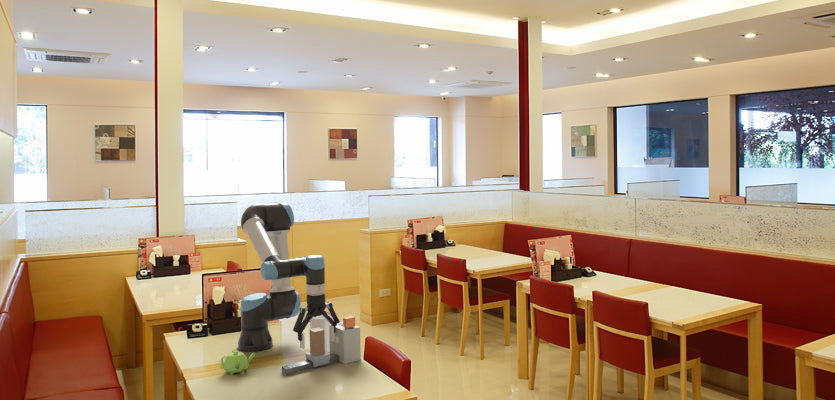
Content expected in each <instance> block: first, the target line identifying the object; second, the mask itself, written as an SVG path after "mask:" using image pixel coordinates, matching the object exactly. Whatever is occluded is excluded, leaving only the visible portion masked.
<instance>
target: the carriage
mask: <svg viewBox="0 0 835 400" xmlns="http://www.w3.org/2000/svg"><path fill="white" fill-rule="evenodd" d="M329 359H330V352H329V353H327V352H325V337H324V330H323V329H321V328H315V329H309V351H308V352H305V361H306V360H310V361H312V362H313V367H316V366H319V365H323V364H327V363H329Z"/></svg>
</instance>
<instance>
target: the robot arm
mask: <svg viewBox="0 0 835 400" xmlns="http://www.w3.org/2000/svg"><path fill="white" fill-rule="evenodd" d="M294 224H295V215H294V211H293V208H292V206H291V205H290V204H289V203H288V202H280V201H277V202H265V203H254V204H252V205H250V206H248V207H247V208H246V209H245V210H244V212H243V213H242V215H241V218H240V226H241V229H242V231H243V233H244V234H246V235H247V236H248V238H249V240H250V242H251V244H252V245H253V248H254V250H255V252H256V254H257V255H258V257H259V259H260V261H261V265H260V274H261V275H260V276H261V277H262V279H263V280H264V281H271V284H272V286H271V289H270V290H269V295H268V294H267V293H265V292H256V293H251V294H248V295H245V296H244V297H243V298H242V299H241V300H240V307H239V310H240V323H241V324H240V325H241V330H240V335H239V337H238V342H237V349H238V351H243V352H260V351H263V350H267V349H269V348H271V347H272V346H273V345H274V343H273V338H272V335H271V332H270V328H269V322H273V321H279V320H284V319H291V318H294V317H296V316H297V315H298V316H297V318H296V321H295V323H294V326H293V329H292V332H295V333H297V340H298V341H299V348H301V349H302V350H305V346H306V345H305V342H306V341H305V332H304V331H305V329H306V327H307V326H308V324H310V320H311V319H312V318H313V317H316V316H321V315H323V316H324V317H325V318H326V319H327V320H328V322H329V324H331V325H329V340H330V341H332V342H334V333H335V332H336V326H337V323H340V322H341V321H340V319H339V317H338V315H337V313H336V311H335V310H334V308H333V303H332V302H330V301H328V302H326V294H325V293H326V282H325V281H326V280H325V278H326V276H325V275H326V272H325V268H326V264H325V257H324V256H323V255H319V254H312V255H310V254H309V255H307V256H303V255H301V256H298V257H296V258H290V252H289V249H290V248H289V239H288V234H289V232H290V231H291V227H293V226H294ZM303 276H304V277H305V281H306V284H305V285H306V286H305V287H306V288H305V289H306V290H305V291H306V307H302V306H301V302H302V301H301V297H300V293H299V292H298V291H296V289H295V287H294V286H293V285H292V278H296V277H303ZM326 309H327V310H328V312H329V314H330V315H329V314H328V313H327V311H326ZM331 317H332V318H331Z"/></svg>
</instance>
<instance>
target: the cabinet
mask: <svg viewBox="0 0 835 400" xmlns="http://www.w3.org/2000/svg"><path fill="white" fill-rule="evenodd" d="M329 325H331V324H330V323H329ZM329 346H330V352H329V354H333V353H335V354H337V355H339V362H340V363H342V364H344V365H346V364H349V363H354V362H356V361H360V360H362V357H361V356H362V355H361V353H362V351H361V348H362V347H361V327H360V326H358V325H356V324H355V327H351V328H344V327H343V320H342V321H340V323H337V326H336V332H335V333H334V342H332V341H330V340H329Z"/></svg>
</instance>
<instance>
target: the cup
mask: <svg viewBox="0 0 835 400" xmlns="http://www.w3.org/2000/svg"><path fill="white" fill-rule="evenodd" d="M329 324H330V323H329V322H328V320H327V319H326V318H325V317H324V316H323V315H321V316H316V317H313V318H312V319H311V320H310V321H309V325H310V329H315V328H321V329H323V330H324V337H325V352H327V353H329V354H330V346H329ZM310 329H309V330H310Z"/></svg>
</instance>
